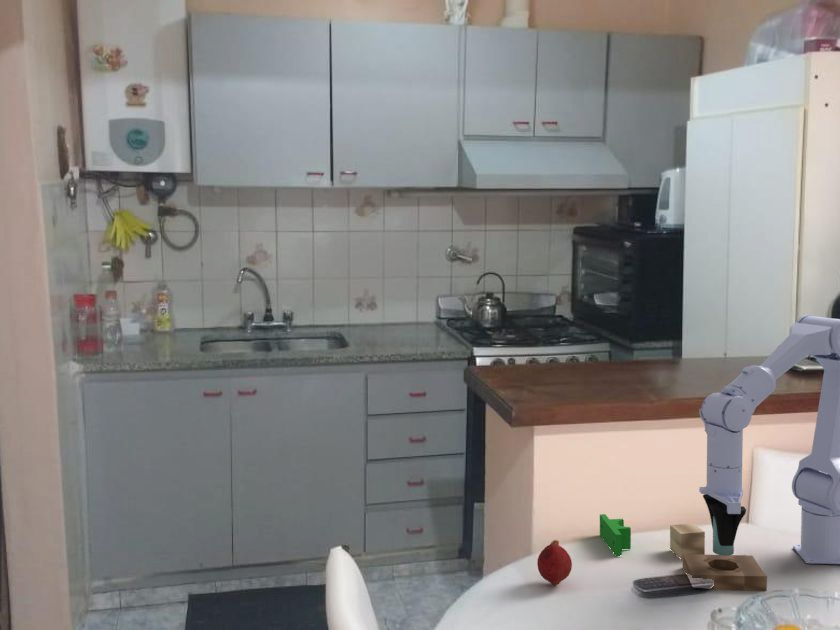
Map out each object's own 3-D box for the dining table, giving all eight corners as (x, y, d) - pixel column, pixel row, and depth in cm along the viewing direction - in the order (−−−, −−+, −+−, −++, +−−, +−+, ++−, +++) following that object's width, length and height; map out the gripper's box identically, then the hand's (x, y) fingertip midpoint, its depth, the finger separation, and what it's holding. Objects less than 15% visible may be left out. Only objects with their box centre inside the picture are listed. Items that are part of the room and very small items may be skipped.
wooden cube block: (693, 548, 162) (693, 523, 161) (704, 558, 157) (704, 531, 157) (670, 550, 161) (670, 525, 161) (680, 560, 157) (681, 533, 156)
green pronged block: (635, 557, 159) (635, 533, 159) (615, 558, 159) (615, 534, 158) (618, 535, 170) (618, 512, 170) (599, 536, 170) (599, 513, 169)
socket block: (752, 569, 152) (752, 555, 152) (766, 590, 143) (766, 576, 143) (682, 567, 153) (682, 554, 153) (692, 589, 144) (692, 574, 144)
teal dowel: (729, 547, 149) (730, 514, 148) (736, 555, 146) (736, 521, 145) (710, 548, 149) (710, 514, 149) (716, 555, 146) (716, 521, 145)
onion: (550, 594, 144) (550, 548, 143) (531, 582, 149) (530, 538, 148) (578, 587, 146) (578, 542, 145) (558, 575, 151) (557, 531, 151)
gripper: (691, 452, 153) (691, 525, 155) (709, 476, 139) (708, 556, 141) (732, 452, 153) (731, 526, 154) (754, 476, 138) (753, 557, 140)
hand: (723, 540), depth 147 cm, fingers closed on teal dowel, 3 cm apart
